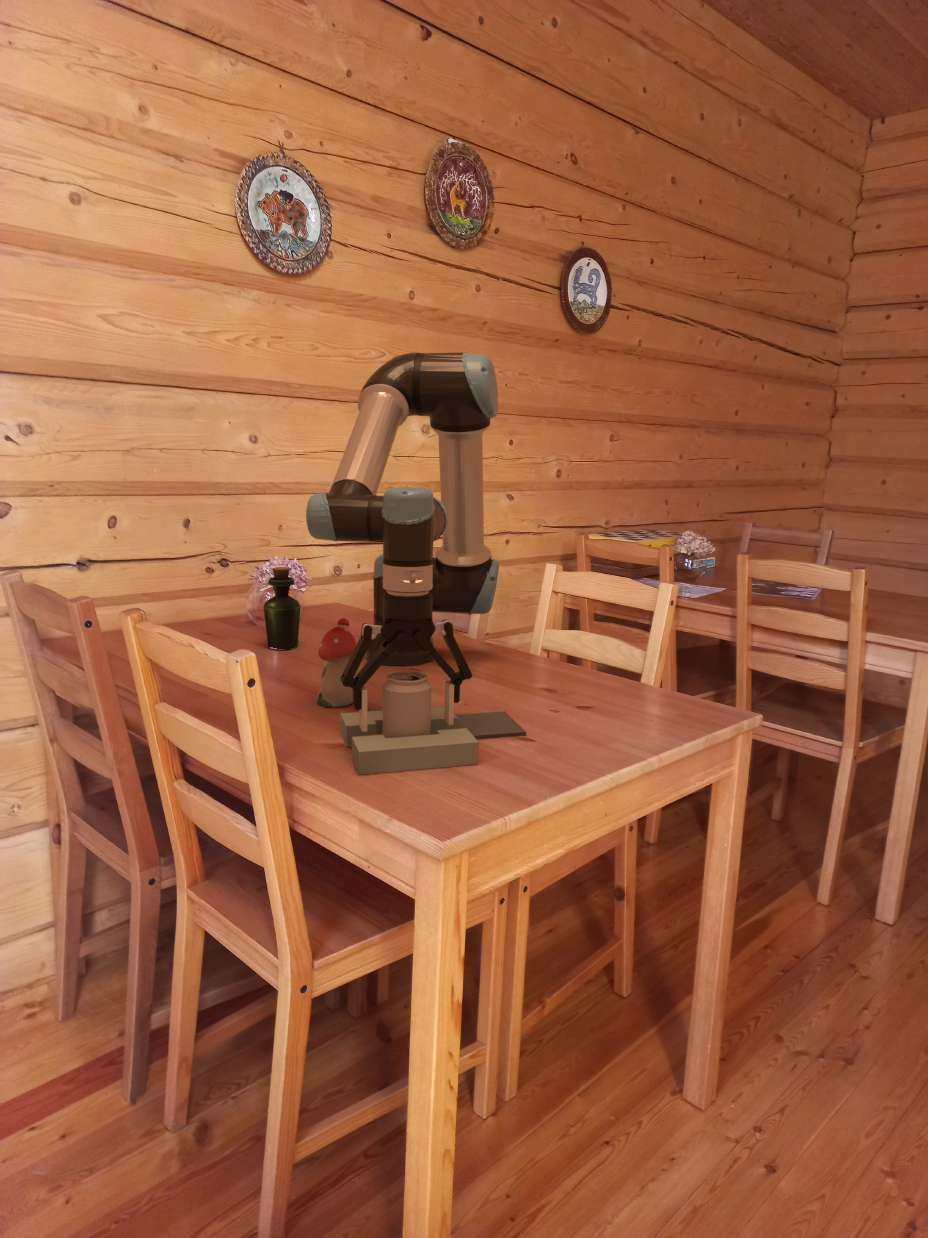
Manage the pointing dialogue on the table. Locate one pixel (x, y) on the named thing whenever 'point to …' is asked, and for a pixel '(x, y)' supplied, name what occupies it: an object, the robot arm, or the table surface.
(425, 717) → the can
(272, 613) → the potion bottle
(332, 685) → the decorative ornament
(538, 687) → the table surface
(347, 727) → the pocket block
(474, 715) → the coaster
